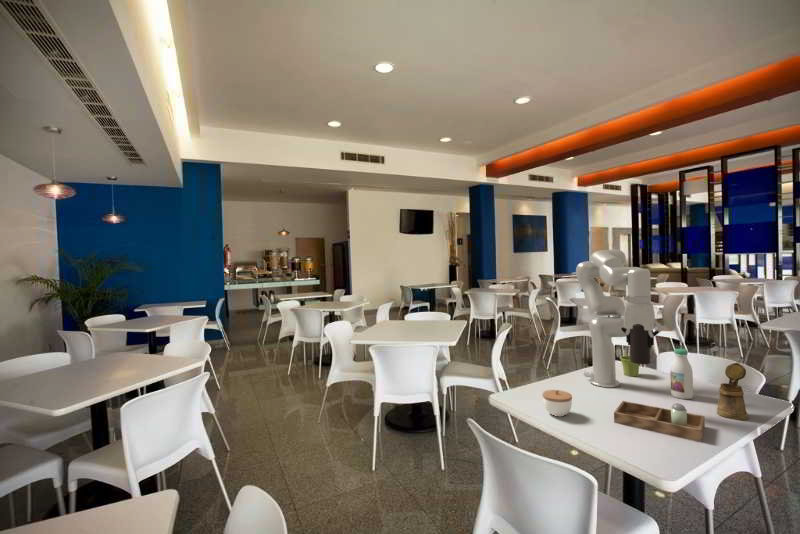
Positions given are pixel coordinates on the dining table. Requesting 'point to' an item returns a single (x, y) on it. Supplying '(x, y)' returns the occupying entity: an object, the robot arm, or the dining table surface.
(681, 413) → the shaker
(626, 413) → the caddy
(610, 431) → the dining table surface
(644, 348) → the vinegar
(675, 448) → the dining table surface
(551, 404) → the lidded jar
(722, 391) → the burlap money sack
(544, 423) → the dining table surface
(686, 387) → the milk bottle
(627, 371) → the plant pot
